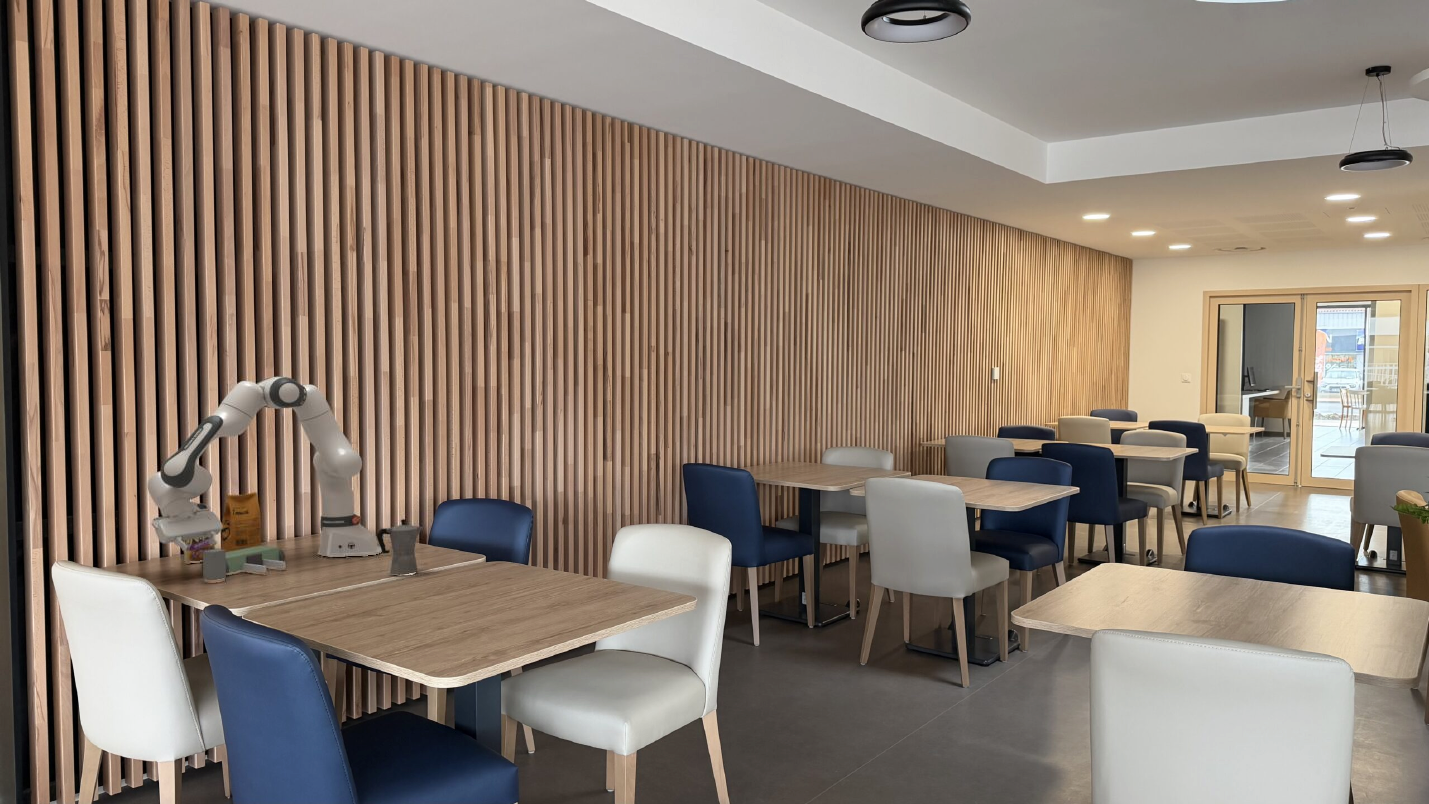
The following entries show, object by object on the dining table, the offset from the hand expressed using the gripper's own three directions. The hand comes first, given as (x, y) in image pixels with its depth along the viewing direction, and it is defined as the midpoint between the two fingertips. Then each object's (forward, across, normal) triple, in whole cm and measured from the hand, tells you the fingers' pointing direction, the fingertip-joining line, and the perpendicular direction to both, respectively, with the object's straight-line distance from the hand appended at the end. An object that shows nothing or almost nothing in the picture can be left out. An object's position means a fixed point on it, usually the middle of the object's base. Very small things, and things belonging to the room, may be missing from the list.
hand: (200, 546), depth 299 cm
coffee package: (-12, +36, +27) cm, 47 cm away
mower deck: (+9, +17, +6) cm, 20 cm away
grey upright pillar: (+12, 0, +3) cm, 12 cm away
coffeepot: (+44, +34, -29) cm, 62 cm away
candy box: (-11, +18, +26) cm, 34 cm away
